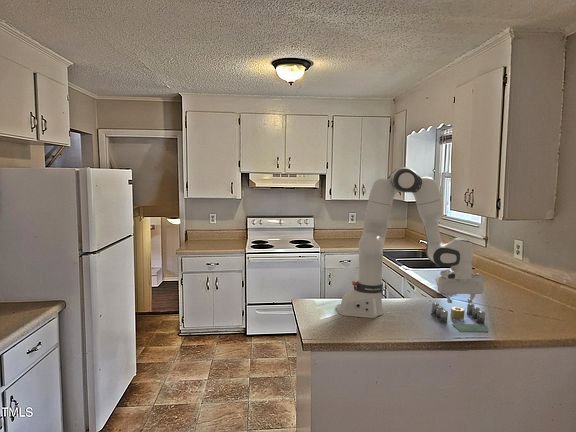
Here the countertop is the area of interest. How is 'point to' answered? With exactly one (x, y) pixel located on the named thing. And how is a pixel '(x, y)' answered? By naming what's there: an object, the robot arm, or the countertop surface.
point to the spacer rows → (471, 311)
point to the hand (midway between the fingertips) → (459, 302)
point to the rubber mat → (469, 328)
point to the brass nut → (457, 313)
